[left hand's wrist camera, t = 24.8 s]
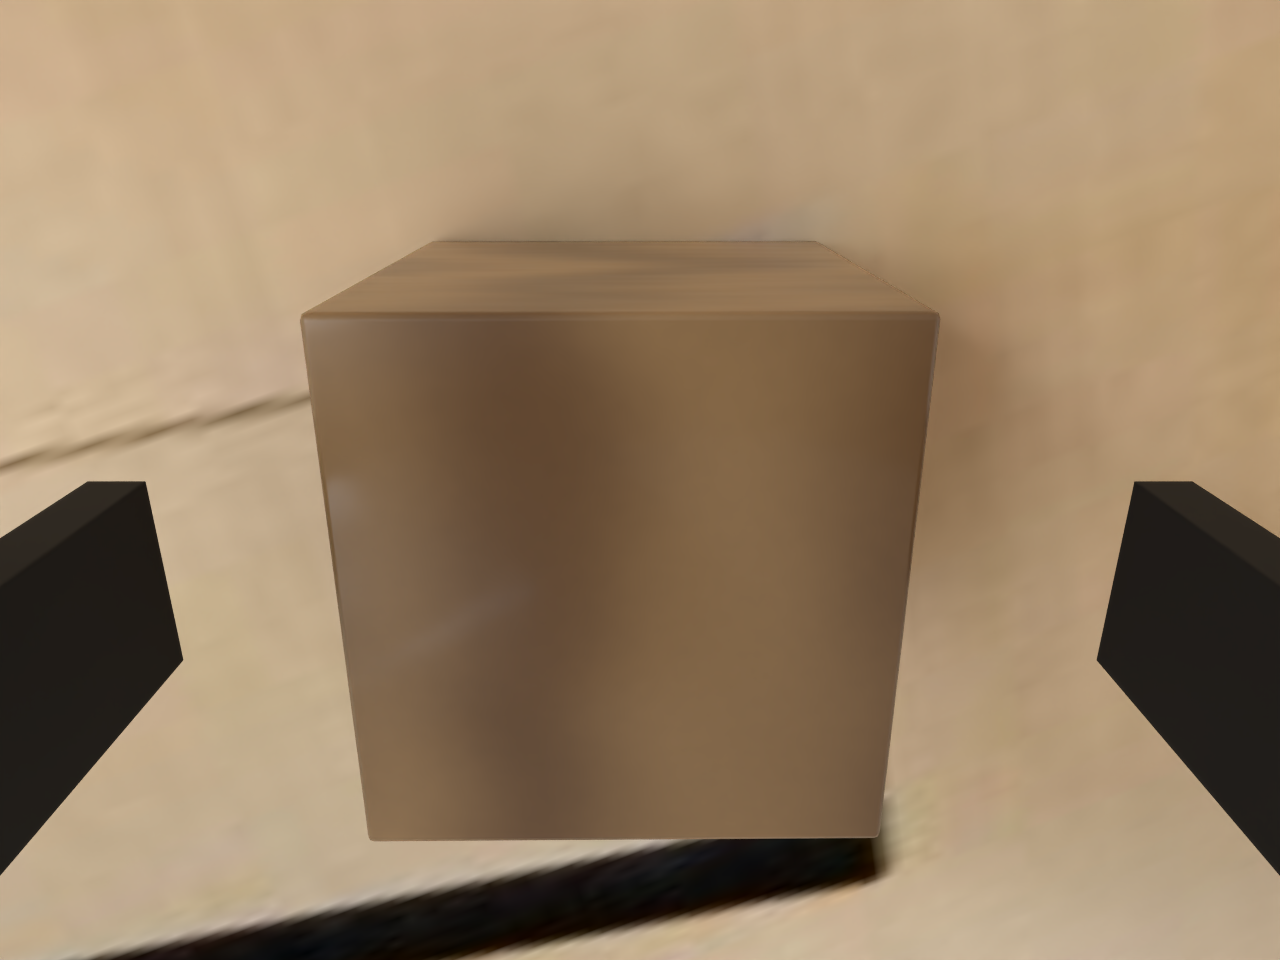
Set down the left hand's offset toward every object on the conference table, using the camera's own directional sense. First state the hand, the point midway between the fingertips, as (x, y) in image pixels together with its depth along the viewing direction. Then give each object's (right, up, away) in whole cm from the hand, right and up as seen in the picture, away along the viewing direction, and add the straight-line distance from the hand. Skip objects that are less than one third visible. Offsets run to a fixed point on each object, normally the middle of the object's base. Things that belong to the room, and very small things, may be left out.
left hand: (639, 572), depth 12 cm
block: (0, +2, +7) cm, 7 cm away
